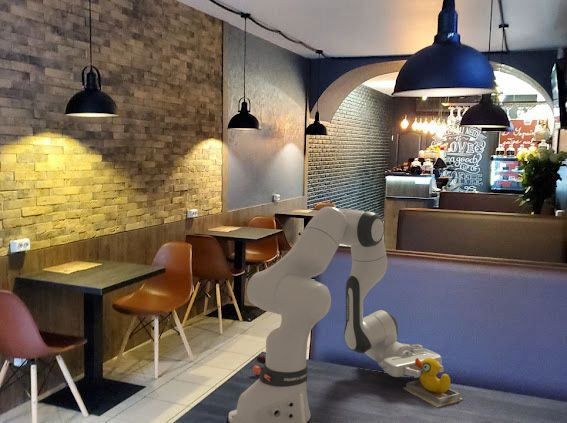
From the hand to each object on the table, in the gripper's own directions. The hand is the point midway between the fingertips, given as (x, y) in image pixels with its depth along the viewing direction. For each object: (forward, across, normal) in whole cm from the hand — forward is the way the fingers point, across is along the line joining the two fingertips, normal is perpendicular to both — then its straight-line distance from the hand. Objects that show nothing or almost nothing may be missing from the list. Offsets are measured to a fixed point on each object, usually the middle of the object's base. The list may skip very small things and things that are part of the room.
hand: (430, 372), depth 170 cm
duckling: (0, +1, +6) cm, 6 cm away
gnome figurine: (-33, -34, +7) cm, 48 cm away
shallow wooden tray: (+1, 0, +7) cm, 7 cm away
